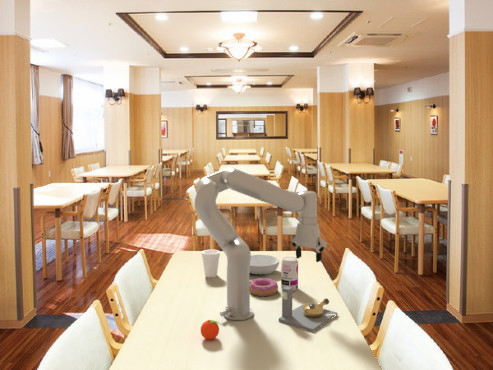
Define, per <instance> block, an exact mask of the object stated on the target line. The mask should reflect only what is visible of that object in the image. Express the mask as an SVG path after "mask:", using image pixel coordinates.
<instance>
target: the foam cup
mask: <svg viewBox="0 0 493 370" xmlns="http://www.w3.org/2000/svg"><path fill="white" fill-rule="evenodd" d="M220 256H221V253H220V250H217V249H205V250H202V251H201V258H202V264H203V270H204V271H203V272H204V276H205V277H206V278H216V277H218V270H219V262H220Z"/></svg>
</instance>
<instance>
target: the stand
mask: <svg viewBox="0 0 493 370" xmlns="http://www.w3.org/2000/svg"><path fill="white" fill-rule="evenodd" d="M305 304H306V303H303V304H301V305H300V306H298V307H296V308H294V309H293V291H292V288H291V287H288V286H286V287H284V288H281V309H282V310H281V316H280V317H278V322H280V323H282V322H283V324H285V325H286V324H287V325H289V326H293V327H295V326H296V328H298V327H299V328H298V329H301V328H303V329H302V330H304V329H306V331H308V330H309V331H308V332H311V331H314V330H315V331H317V330H318V329H319V327H320V326H321V325H323V324H324V323H326V322H327V321H328V320H330V319H331V318H332V317H334V316H335V315H337V316H338V312H337V311H334V310H330V309H326V308H323V315H322V316H321V317H318V318H310V317H307V316H305V315H304V314H303V306H304V305H305ZM334 318H335V317H334ZM331 320H332V319H331ZM331 320H330V321H331ZM328 322H329V321H328ZM328 322H327V323H328ZM327 323H326V324H327ZM324 325H325V324H324ZM324 325H323V326H324ZM321 327H322V326H321ZM321 327H320V328H321ZM317 328H318V329H317ZM316 329H317V330H316ZM315 331H314V332H315Z"/></svg>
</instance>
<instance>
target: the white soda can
mask: <svg viewBox="0 0 493 370" xmlns="http://www.w3.org/2000/svg"><path fill="white" fill-rule="evenodd" d="M280 263H281V265H280V267H281V269H280V271H281V272H280V274H281V275H280V279H281V280H280V282H281V283H280V286H281V289H282V288H284V287H286V286H288V287H291V288H292V292H295V291H297V290H298V288H299V261H298V258H296V257H293V256H286V257H283V258H282V259H281V262H280Z"/></svg>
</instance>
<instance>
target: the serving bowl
mask: <svg viewBox="0 0 493 370" xmlns="http://www.w3.org/2000/svg"><path fill="white" fill-rule="evenodd" d="M279 265H280V259H279V258H278V257H277V256H274V255H269V254H251V261H250V274H253V275H258V274H259V276H261V275H262V274H263V275H268V274H271V273H273V272H275V271H276V270H277V269H278V267H279Z"/></svg>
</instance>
